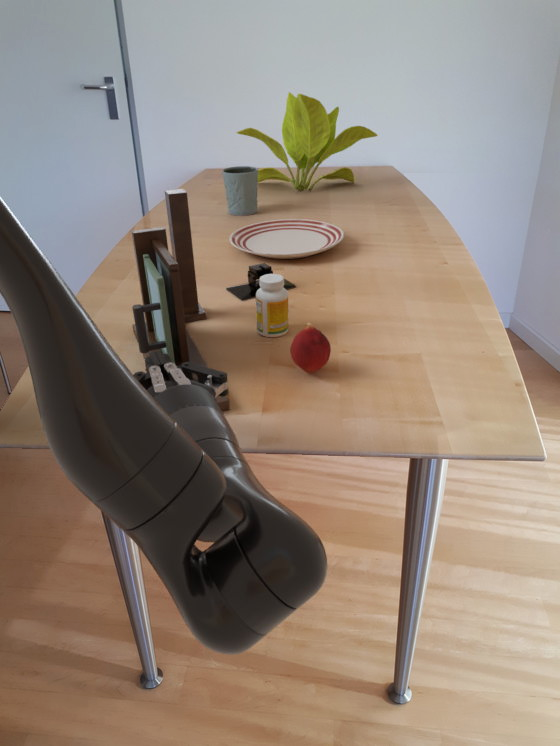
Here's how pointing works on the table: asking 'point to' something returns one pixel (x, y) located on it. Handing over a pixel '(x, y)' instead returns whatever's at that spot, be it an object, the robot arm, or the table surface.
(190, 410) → the robot arm
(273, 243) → the dinner plate
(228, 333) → the table surface
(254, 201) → the embossed green cup
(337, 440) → the table surface
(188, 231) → the end post
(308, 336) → the onion
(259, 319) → the supplement bottle
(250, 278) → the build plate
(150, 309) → the window sash
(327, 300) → the table surface
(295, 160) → the artificial plant
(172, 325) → the window frame
